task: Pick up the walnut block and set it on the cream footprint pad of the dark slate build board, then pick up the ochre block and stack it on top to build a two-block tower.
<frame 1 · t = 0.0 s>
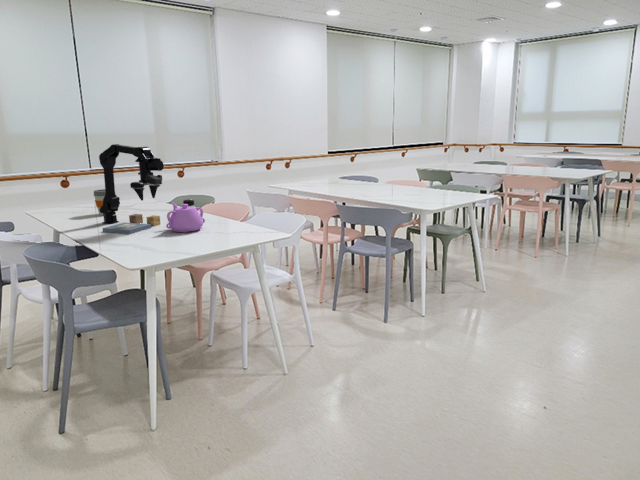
hand: (148, 199, 268), 15 cm above the table, tool pointing down, fingers open, 9 cm apart
walnut block: (136, 223, 279), on the table
build board: (127, 229, 261), on the table
ochre block: (153, 225, 273), on the table
teapot: (184, 229, 260), on the table
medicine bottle: (190, 220, 286), on the table
reusable coffee cup: (107, 214, 310), on the table
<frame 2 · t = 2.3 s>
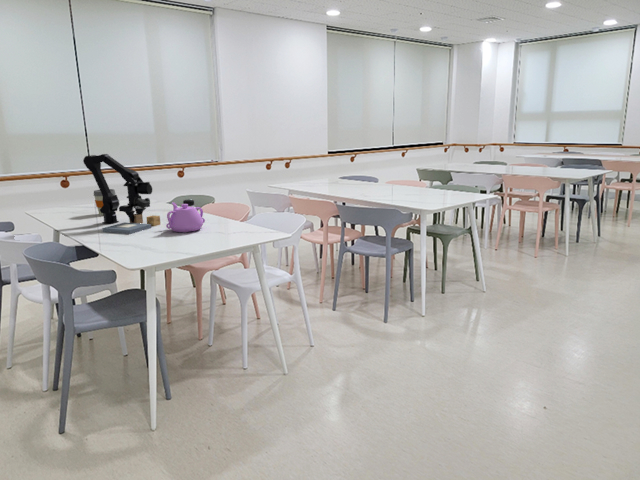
hand: (136, 221, 278), 1 cm above the table, tool pointing down, fingers closed on walnut block, 5 cm apart
walnut block: (136, 223, 279), on the table, touching gripper
everything else where it was.
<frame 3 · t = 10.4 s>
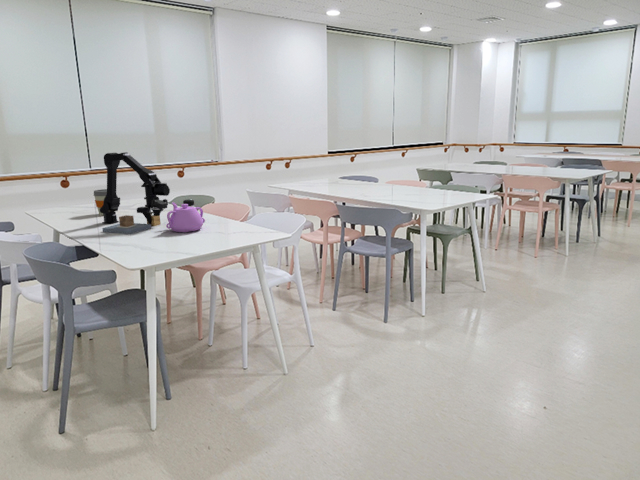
hand: (153, 223, 273), 1 cm above the table, tool pointing down, fingers closed on ochre block, 5 cm apart
walnut block: (127, 225, 261), point 2 cm above the table, touching build board
ochre block: (153, 225, 273), on the table, touching gripper
everything else where it was.
when the fingers open (9 cm above the table, at t = 13.8 s): ochre block drops 1 cm, resting on walnut block.
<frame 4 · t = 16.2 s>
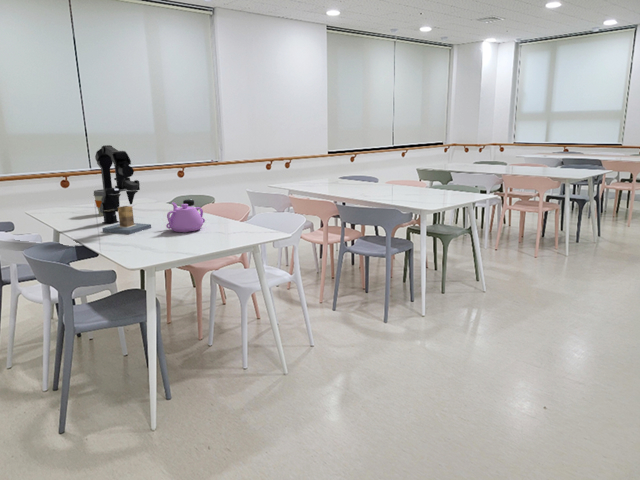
hand: (124, 205, 258), 13 cm above the table, tool pointing down, fingers open, 9 cm apart
walnut block: (127, 225, 261), point 2 cm above the table, touching build board, ochre block
ochre block: (126, 216, 260), point 7 cm above the table, touching walnut block
everything else where it was.
at the end: walnut block 0.1 cm off-centre on the build board, point 2.3 cm above the build board's base; ochre block 0.0 cm off-centre on the walnut block, point 5.0 cm above the walnut block's base; ochre block tilted 0° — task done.
